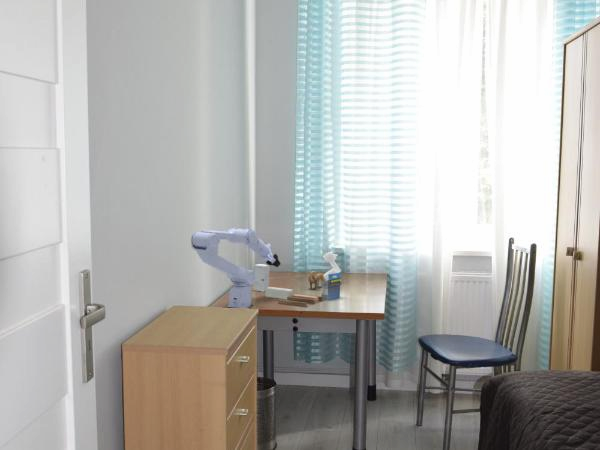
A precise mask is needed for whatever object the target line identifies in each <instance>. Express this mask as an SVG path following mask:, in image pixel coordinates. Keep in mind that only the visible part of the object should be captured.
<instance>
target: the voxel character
mask: <svg viewBox="0 0 600 450" xmlns="http://www.w3.org/2000/svg"><path fill="white" fill-rule="evenodd" d="M338 256H339V254H338V253H337V254H336V253H333V251H331V252H330V251H328V252H327V253H325V254H324V255H322V258H323V260H324V261H326V262H328V264H329V265H330V266H331V267H332V268H331V269H329V270H328V271H326V273H324V274H323V276H324V281H327V280H328V274H334V273H339V272H340V273H341V272H342V269H341V268H340V267H339V265H338V263H336V260H337V257H338ZM334 277H336V276H335V275H334V276H333V278H334ZM341 281H342V280H341V279H340V283H341Z"/></svg>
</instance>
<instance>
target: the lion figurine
mask: <svg viewBox="0 0 600 450" xmlns="http://www.w3.org/2000/svg"><path fill="white" fill-rule="evenodd" d="M323 275H324V274H323V273H321V272H320V273H317V272H316V271H315V270H311V271H309V273H308V276H307V278H308V282H309V288H308V289H309V290H312V289H313V284H314V290H318V287H319V285H320V281H321V283H322V282H325V281H326V280H325V278H324V276H323Z"/></svg>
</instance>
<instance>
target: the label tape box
mask: <svg viewBox="0 0 600 450" xmlns="http://www.w3.org/2000/svg"><path fill="white" fill-rule="evenodd" d="M334 275H335V276H336V277H334V278H333V276H334ZM340 280H341V272H339V273H334V274H328V280H327V281H326V280H324V281H325V282H322V281H321V291H320V292H321V294H320V295H321V297H324V300H325V301H331V300H336V299H340V298H341V297H340V296H341V295H340V294H341V282H340Z"/></svg>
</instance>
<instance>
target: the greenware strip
mask: <svg viewBox="0 0 600 450" xmlns="http://www.w3.org/2000/svg"><path fill="white" fill-rule="evenodd" d="M292 295H294V289H290V288H285V287H274V286H269V287H268V288H266V291H265V298H266V297H267V298H274V299H280V300H287V297H292Z"/></svg>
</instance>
